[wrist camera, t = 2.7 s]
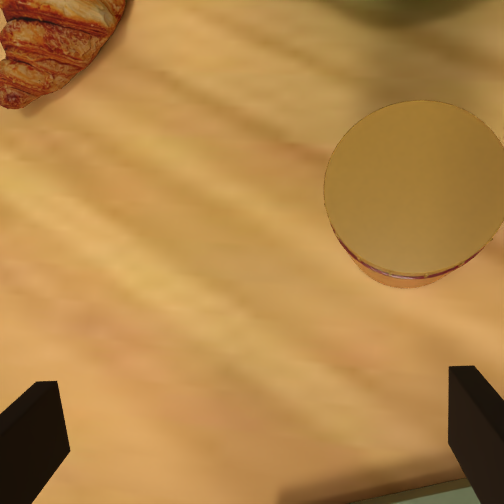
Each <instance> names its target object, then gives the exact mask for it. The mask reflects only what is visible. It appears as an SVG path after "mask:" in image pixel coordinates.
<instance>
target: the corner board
mask: <svg viewBox="0 0 504 504" xmlns="http://www.w3.org/2000/svg"><path fill="white" fill-rule="evenodd" d="M349 504H481V503H480V501H479V500H478V498H477V496H476V494H475V492H474V490H473V488H472V487H471V485H470V483H469V481H468V479H467V478H463V479H458V480H454V481H449V482H445V483H440V484H435V485H431V486H426V487H422V488H417V489H413V490H408V491H403V492H399V493H394V494H390V495H385V496H381V497H376V498H371V499H367V500H362V501H358V502H353V503H349Z"/></svg>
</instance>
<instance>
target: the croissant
mask: <svg viewBox="0 0 504 504" xmlns="http://www.w3.org/2000/svg"><path fill="white" fill-rule="evenodd" d="M125 4H126V3H125V0H0V8H1V9H2V11H3V13H4V16H5V19H6V21H7V24H6V26H5V27H4V28H3V30H2V31H1V33H0V41H1V44H2V46H3V48H4V50H5V53H6V59H3V60H2V61H0V105H1V106H3V107H5V108H7V109H19V108H24V107H25V106H26V105H28V104H29V103H31V102H32V101H33V100H36V99H37V98H39V97H40V96H41V95H45V94H49V93H53V92H54V91H57V90H58V89H62V87H63V86H64V85H65V84H67V83H69V81H70V80H71V78H73V77H74V76H75V75H76V73H78V72H80V71H81V70H83V69H85V68H86V67H87V66H88V65H89V64H90V63H91V62H92V61H93V59H94V58H95V57H96V55H97V54H98V52H99V50H100V48H101V47H102V46H103V45H104V43H105V42H106V41H107V40H108V38H109V37H110V36H111V35H112V34H113V32H114V30H115V28H116V26H117V24H118V22H119V21H120V19H121V17H122V14H123V12H124V8H125Z"/></svg>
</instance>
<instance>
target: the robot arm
mask: <svg viewBox="0 0 504 504" xmlns="http://www.w3.org/2000/svg"><path fill="white" fill-rule="evenodd" d="M448 444H449V446H450V447H451V449H452V451H453V453H454V455H455V457H456V459H457V460H458V462H459V464H460V466H461V468H462V470H463V472H464V473H465V475H466V477H467V479H468V481H469V483H470V485H471V487H472V488H473V490H474V492H475V494H476V496H477V498H478V500H479V501H480V503H481V504H504V400H503V399H502V398H501V397H500V395H499V394H498V393H497V392H496V391H495V390H494V388H493V387H492V386H491V385H490V384H489V383H488V381H487V380H486V379H485V378H484V377H483V376H482V374H481V373H480V372H479V371H478V370H477V369H476V367H475V366H449V405H448ZM69 452H70V446H69V441H68V436H67V430H66V425H65V420H64V415H63V409H62V404H61V399H60V393H59V388H58V383H57V381H40V382H35V383H34V384H33V385H32V386H31V387H30V388H29V389H28V390H26V391H25V392H24V393H23V394H22V395H21V396H20V397H19V398H18V399H16V400H15V401H14V402H13V403H12V404H11V405H10V406H9V407H8V408H7V409H5V410H4V411H3V412H2V413H1V414H0V504H32V502H33V501H34V500H35V498H36V497H37V496H38V494H39V493H40V491H41V490H42V489H43V487H44V486H45V485H46V483H47V482H48V481H49V479H50V478H51V477H52V475H53V474H54V472H55V471H56V470H57V468H58V467H59V466H60V464H61V463H62V462H63V460H64V459H65V458H66V456H67V455H68V454H69Z"/></svg>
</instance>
